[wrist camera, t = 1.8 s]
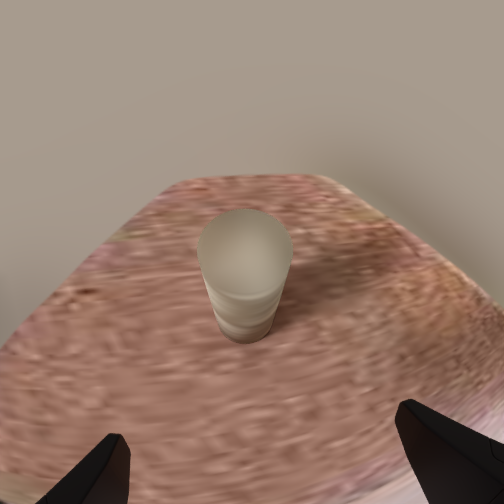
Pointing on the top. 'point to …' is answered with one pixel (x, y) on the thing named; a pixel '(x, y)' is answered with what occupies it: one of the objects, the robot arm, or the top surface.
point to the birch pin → (245, 271)
